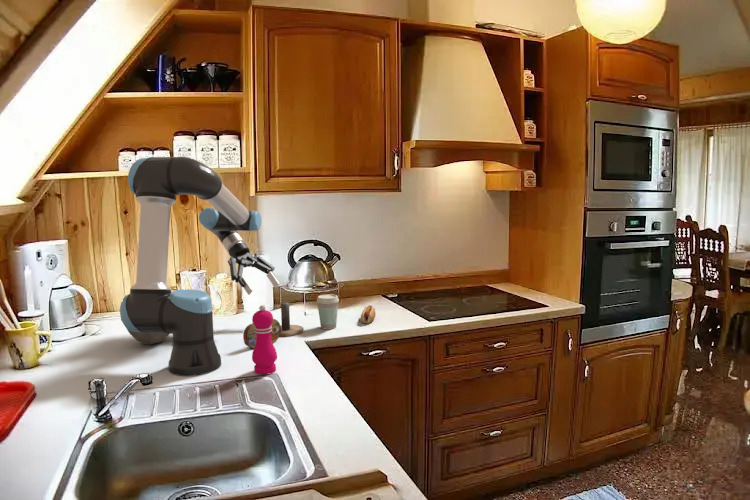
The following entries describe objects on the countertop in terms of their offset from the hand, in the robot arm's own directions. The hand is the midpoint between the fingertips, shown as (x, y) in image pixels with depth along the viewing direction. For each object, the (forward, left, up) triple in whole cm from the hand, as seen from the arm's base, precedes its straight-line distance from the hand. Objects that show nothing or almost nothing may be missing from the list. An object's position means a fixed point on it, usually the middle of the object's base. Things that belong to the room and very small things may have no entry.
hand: (264, 289), depth 202 cm
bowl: (-30, +27, -15) cm, 43 cm away
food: (+24, -32, -15) cm, 43 cm away
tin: (-18, -11, -15) cm, 26 cm away
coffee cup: (+9, -22, -15) cm, 28 cm away
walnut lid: (-2, -10, -15) cm, 18 cm away
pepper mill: (-39, -27, -15) cm, 50 cm away
